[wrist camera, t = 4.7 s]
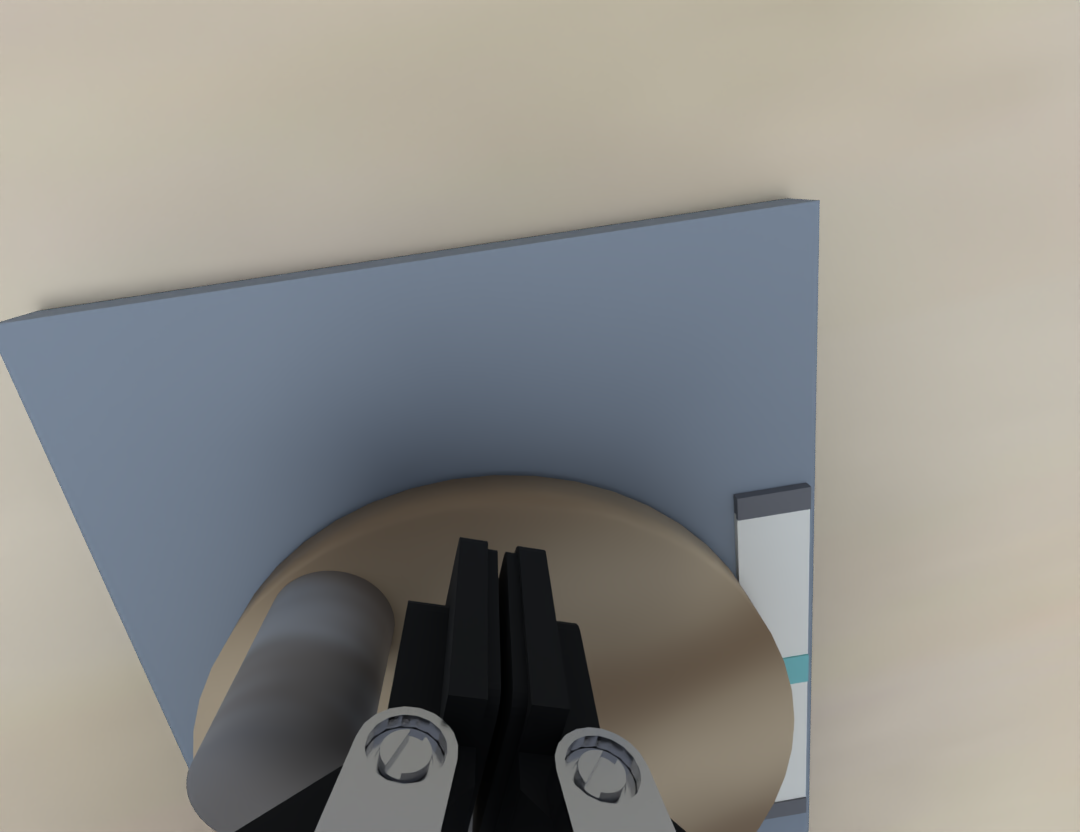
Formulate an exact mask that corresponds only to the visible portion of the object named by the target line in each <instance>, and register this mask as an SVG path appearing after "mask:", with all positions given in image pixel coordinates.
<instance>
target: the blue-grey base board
mask: <svg viewBox="0 0 1080 832" xmlns="http://www.w3.org/2000/svg"><path fill="white" fill-rule="evenodd" d="M819 202H820V200H805V199H789V198H787V199H780V200H774V201H767V202H760V203H754V204H747V205H740V206H734V207H727V208H720V209H714V210H707V211H700V212H694V213H687V214H681V215H674V216H667V217H661V218H654V219H647V220H641V221H634V222H627V223H621V224H614V225H607V226H601V227H594V228H587V229H581V230H574V231H567V232H561V233H554V234H547V235H541V236H534V237H527V238H521V239H514V240H507V241H501V242H494V243H487V244H481V245H474V246H467V247H461V248H454V249H447V250H441V251H434V252H427V253H421V254H414V255H408V256H401V257H394V258H388V259H381V260H374V261H368V262H361V263H354V264H348V265H341V266H334V267H328V268H321V269H314V270H308V271H301V272H294V273H288V274H281V275H274V276H268V277H261V278H254V279H248V280H241V281H234V282H228V283H221V284H214V285H208V286H201V287H194V288H188V289H181V290H174V291H168V292H161V293H154V294H148V295H141V296H134V297H128V298H121V299H115V300H108V301H101V302H95V303H88V304H81V305H75V306H68V307H61V308H55V309H48V310H41V311H36V312H32V313H29V314H26V315H22V316H19V317H15V318H12V319H8V320H5V321H1V322H0V354H1V356H2V359H3V361H4V363H5V365H6V367H7V370H8V372H9V374H10V376H11V378H12V381H13V383H14V385H15V387H16V389H17V392H18V394H19V396H20V398H21V400H22V403H23V405H24V407H25V409H26V411H27V414H28V416H29V418H30V420H31V422H32V425H33V427H34V429H35V431H36V433H37V436H38V438H39V440H40V442H41V444H42V447H43V449H44V451H45V453H46V455H47V458H48V460H49V462H50V464H51V466H52V469H53V471H54V473H55V475H56V477H57V480H58V482H59V484H60V486H61V488H62V491H63V493H64V495H65V497H66V499H67V502H68V504H69V506H70V508H71V510H72V513H73V515H74V517H75V519H76V521H77V524H78V526H79V528H80V530H81V532H82V535H83V537H84V539H85V541H86V543H87V546H88V548H89V550H90V552H91V554H92V557H93V559H94V561H95V563H96V565H97V568H98V570H99V572H100V574H101V576H102V579H103V581H104V583H105V585H106V587H107V590H108V592H109V594H110V596H111V598H112V601H113V603H114V605H115V607H116V609H117V612H118V614H119V616H120V618H121V620H122V623H123V625H124V627H125V629H126V631H127V634H128V636H129V638H130V640H131V642H132V645H133V647H134V649H135V651H136V653H137V656H138V658H139V660H140V662H141V664H142V667H143V669H144V671H145V673H146V675H147V678H148V680H149V682H150V684H151V686H152V689H153V691H154V693H155V695H156V697H157V700H158V702H159V704H160V706H161V708H162V711H163V713H164V715H165V717H166V719H167V722H168V724H169V726H170V728H171V730H172V733H173V735H174V737H175V739H176V741H177V744H178V746H179V748H180V750H181V752H182V755H183V757H184V759H185V761H186V763H187V766H188V768H190V765H191V763H192V761H193V731H194V726H195V720H196V715H197V710H198V705H199V700H200V697H201V694H202V692H203V689H204V687H205V684H206V681H207V679H208V676H209V673H210V671H211V668H212V666H213V665H214V663H215V661H216V659H217V658H218V656H219V654H220V652H221V651H222V649H223V647H224V645H225V643H226V642H227V640H228V638H229V636H230V635H231V633H232V631H233V629H234V628H235V626H236V624H237V622H238V621H239V619H240V617H241V616H242V614H243V612H244V610H245V609H246V607H247V605H248V604H249V602H250V600H251V599H252V597H253V595H254V594H255V593H256V591H257V590H258V589H259V588H260V586H261V585H262V584H263V583H264V582H265V580H266V579H267V578H268V577H269V576H270V574H271V573H272V572H273V571H274V569H275V568H276V567H277V566H278V565H279V564H280V563H282V562H283V561H284V560H285V559H286V558H287V557H288V556H289V555H290V554H291V553H293V552H294V551H295V550H296V549H297V548H298V547H299V546H300V545H301V544H303V543H304V542H305V541H307V540H308V539H309V538H311V537H312V536H314V535H315V534H317V533H318V532H320V531H321V530H323V529H324V528H326V527H327V526H329V525H330V524H332V523H333V522H334V521H336V520H338V519H340V518H342V517H344V516H346V515H348V514H350V513H352V512H354V511H356V510H358V509H360V508H362V507H364V506H366V505H368V504H370V503H372V502H374V501H377V500H380V499H383V498H386V497H388V496H391V495H394V494H397V493H400V492H402V491H405V490H408V489H411V488H416V487H420V486H424V485H429V484H433V483H438V482H442V481H447V480H451V479H461V478H470V477H480V476H490V475H516V476H540V477H547V478H555V479H562V480H569V481H576V482H580V483H583V484H587V485H591V486H595V487H599V488H602V489H606V490H610V491H614V492H616V493H618V494H621V495H623V496H626V497H628V498H631V499H633V500H636V501H638V502H641V503H643V504H646V505H648V506H650V507H652V508H653V509H655V510H657V511H659V512H660V513H662V514H664V515H666V516H667V517H669V518H671V519H672V520H674V521H676V522H678V523H679V524H681V525H682V526H683V527H685V528H686V529H687V530H688V531H690V532H691V533H692V534H694V535H695V536H696V537H697V538H699V539H700V540H701V541H703V542H704V543H705V544H706V545H707V546H708V547H709V548H710V549H711V550H712V551H713V552H714V553H715V554H716V555H717V556H718V557H719V558H720V559H721V560H722V561H723V562H724V564H725V565H726V566H727V567H728V568H729V569H730V570H731V572H732V573H733V575H734V576H735V578H736V579H737V581H738V582H739V584H740V585H741V587H742V588H743V589H744V591H745V592H746V594H747V595H748V597H749V599H750V600H751V602H752V603H753V605H754V607H755V608H756V610H757V611H758V613H759V615H760V616H761V618H762V619H763V621H764V623H765V624H766V626H767V627H768V629H769V631H770V632H771V634H772V636H773V638H774V641H775V643H776V645H777V647H778V649H779V651H780V653H781V656H782V658H783V660H784V663H785V666H786V670H787V674H788V678H789V681H790V685H791V689H792V697H793V708H794V732H793V744H792V751H791V755H790V759H789V763H788V767H787V771H786V775H785V778H784V780H783V783H782V785H781V788H780V790H779V792H778V795H777V797H776V800H775V802H774V804H773V806H772V807H771V809H770V811H769V812H768V814H767V816H766V817H765V819H764V821H763V823H762V824H761V826H760V828H759V829H758V830H757V832H808V829H809V772H810V715H811V658H812V601H813V544H814V487H815V430H816V373H817V316H818V258H819Z"/></svg>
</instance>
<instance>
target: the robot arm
mask: <svg viewBox="0 0 1080 832" xmlns="http://www.w3.org/2000/svg"><path fill="white" fill-rule="evenodd" d="M472 814H473V821H472V832H686V831H685V830H684V829H683V828H681V827H680V826H679V825H678V824H677V823H676V822H674V821H673V820H672V819H671V818H670V816H669V814H668V812H667V809H666V807H665V805H664V802H663V800H662V798H661V795H660V793H659V791H658V788H657V786H656V784H655V781H654V779H653V777H652V774H651V772H650V770H649V767H648V765H647V764H646V762H645V760H644V759H643V757H642V755H641V754H640V752H639V751H638V750H637V749H636V748H635V747H634V746H633V745H632V744H631V743H630V742H628V741H627V740H625V739H624V738H622V737H621V736H619V735H617V734H615V733H613V732H610V731H607V730H605V729H600V726H599V721H598V716H597V711H596V706H595V701H594V696H593V691H592V686H591V681H590V676H589V671H588V666H587V661H586V656H585V651H584V647H583V642H582V637H581V632H580V628H579V626H578V625H577V624H576V623H570V622H563V621H556V614H555V608H554V601H553V595H552V588H551V582H550V575H549V569H548V562H547V556H546V551H545V550H541V549H535V548H528V547H522V546H517V547H516V550H515V553H511V552H505V554H504V557H503V561H502V565H501V570H500V574H499V578H498V551H497V550H492V549H488V541H483V540H476V539H470V538H463V537H460V538H459V542H458V546H457V551H456V556H455V560H454V565H453V570H452V575H451V580H450V585H449V589H448V594H447V599H446V604H445V605H439V604H432V603H424V602H417V601H410V600H408V604H407V609H406V615H405V620H404V625H403V630H402V636H401V641H400V646H399V651H398V657H397V662H396V667H395V673H394V678H393V683H392V688H391V694H390V699H389V704H388V709H387V710H385V711H382V712H380V713H377V714H375V715H374V716H373V717H371V718H370V719H369V720H368V721H366V722H365V723H364V724H363V726H362V727H361V729H360V730H359V732H358V733H357V735H356V737H355V739H354V741H353V744H352V746H351V748H350V751H349V753H348V755H347V758H346V760H345V762H344V764H343V765H342V766H340V767H339V768H337V769H335V770H334V771H332V772H330V773H329V774H327V775H326V776H324V777H322V778H321V779H319V780H318V781H316V782H314V783H313V784H311V785H309V786H308V787H306V788H305V789H303V790H301V791H300V792H298V793H296V794H295V795H293V796H292V797H290V798H288V799H287V800H285V801H284V802H282V803H280V804H279V805H277V806H275V807H274V808H272V809H271V810H269V811H267V812H266V813H264V814H262V815H261V816H259V817H258V818H256V819H254V820H253V821H251V822H250V823H248V824H246V825H245V826H243V827H241V828H240V829H238V830H237V831H235V832H468V829H469V825H470V821H471V817H472Z"/></svg>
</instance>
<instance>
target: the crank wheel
mask: <svg viewBox="0 0 1080 832" xmlns="http://www.w3.org/2000/svg"><path fill="white" fill-rule="evenodd" d="M460 537H463V538H470V539H476V540H483V541H488V549H492V550H497V551H498V578H499V574H500V570H501V565H502V561H503V557H504V554H505V552H511V553H515V550H516V547H517V546H522V547H528V548H535V549H541V550H545V551H546V556H547V562H548V569H549V575H550V582H551V588H552V595H553V601H554V608H555V614H556V621H563V622H570V623H576V624H577V625H578V626H579V628H580V632H581V637H582V642H583V647H584V651H585V656H586V661H587V666H588V671H589V676H590V681H591V686H592V691H593V696H594V701H595V706H596V711H597V716H598V721H599V726H600V729H605V730H607V731H610V732H613V733H615V734H617V735H619V736H621V737H622V738H624V739H625V740H627V741H628V742H630V743H631V744H632V745H633V746H634V747H635V748H636V749H637V750H638V751H639V752H640V754H641V755H642V757H643V759H644V760H645V762H646V764H647V765H648V767H649V770H650V772H651V774H652V777H653V779H654V781H655V784H656V786H657V788H658V791H659V793H660V795H661V798H662V800H663V802H664V805H665V807H666V809H667V812H668V814H669V816H670V818H671V819H672V820H673V821H674V822H676V823H677V824H678V825H679V826H680V827H681V828H683V829H684V830H685V831H686V832H757V830H758V829H759V828H760V826H761V824H762V823H763V821H764V819H765V817H766V816H767V814H768V812H769V811H770V809H771V807H772V806H773V804H774V802H775V800H776V797H777V795H778V792H779V790H780V788H781V785H782V783H783V780H784V778H785V775H786V771H787V767H788V763H789V759H790V755H791V751H792V744H793V732H794V708H793V697H792V689H791V685H790V681H789V678H788V674H787V670H786V666H785V663H784V660H783V658H782V656H781V653H780V651H779V649H778V647H777V645H776V643H775V641H774V638H773V636H772V634H771V632H770V631H769V629H768V627H767V626H766V624H765V623H764V621H763V619H762V618H761V616H760V615H759V613H758V611H757V610H756V608H755V607H754V605H753V603H752V602H751V600H750V599H749V597H748V595H747V594H746V592H745V591H744V589H743V588H742V587H741V585H740V584H739V582H738V581H737V579H736V578H735V576H734V575H733V573H732V572H731V570H730V569H729V568H728V567H727V566H726V565H725V564H724V562H723V561H722V560H721V559H720V558H719V557H718V556H717V555H716V554H715V553H714V552H713V551H712V550H711V549H710V548H709V547H708V546H707V545H706V544H705V543H704V542H703V541H701V540H700V539H699V538H697V537H696V536H695V535H694V534H692V533H691V532H690V531H688V530H687V529H686V528H685V527H683V526H682V525H681V524H679V523H678V522H676V521H674V520H672V519H671V518H669V517H667V516H666V515H664V514H662V513H660V512H659V511H657V510H655V509H653V508H652V507H650V506H648V505H646V504H643V503H641V502H638V501H636V500H633V499H631V498H628V497H626V496H623V495H621V494H618V493H616V492H614V491H610V490H606V489H602V488H599V487H595V486H591V485H587V484H583V483H580V482H576V481H569V480H562V479H555V478H547V477H540V476H516V475H490V476H480V477H470V478H461V479H451V480H447V481H442V482H438V483H433V484H429V485H424V486H420V487H416V488H411V489H408V490H405V491H402V492H400V493H397V494H394V495H391V496H388V497H386V498H383V499H380V500H377V501H374V502H372V503H370V504H368V505H366V506H364V507H362V508H360V509H358V510H356V511H354V512H352V513H350V514H348V515H346V516H344V517H342V518H340V519H338V520H336V521H334V522H333V523H332V524H330V525H329V526H327V527H326V528H324V529H323V530H321V531H320V532H318V533H317V534H315V535H314V536H312V537H311V538H309V539H308V540H307V541H305V542H304V543H303V544H301V545H300V546H299V547H298V548H297V549H296V550H295V551H294V552H293V553H291V554H290V555H289V556H288V557H287V558H286V559H285V560H284V561H283V562H282V563H280V564H279V565H278V566H277V567H276V568H275V569H274V571H273V572H272V573H271V574H270V576H269V577H268V578H267V579H266V580H265V582H264V583H263V584H262V585H261V586H260V588H259V589H258V590H257V591H256V593H255V594H254V595H253V597H252V599H251V600H250V602H249V604H248V605H247V607H246V609H245V610H244V612H243V614H242V616H241V617H240V619H239V621H238V622H237V624H236V626H235V628H234V629H233V631H232V633H231V635H230V636H229V638H228V640H227V642H226V643H225V645H224V647H223V649H222V651H221V652H220V654H219V656H218V658H217V659H216V661H215V663H214V665H213V666H212V668H211V671H210V673H209V676H208V679H207V681H206V684H205V687H204V689H203V692H202V694H201V697H200V700H199V705H198V710H197V715H196V720H195V726H194V731H193V761H192V763H191V765H190V768H189V771H188V775H187V793H188V797H189V800H190V803H191V805H192V806H193V808H194V810H195V812H196V813H197V814H198V815H199V817H200V818H201V819H202V820H203V821H204V822H205V823H206V824H207V825H208V826H210V827H211V828H212V829H214V831H215V832H235V831H237V830H238V829H240V828H241V827H243V826H245V825H246V824H248V823H250V822H251V821H253V820H254V819H256V818H258V817H259V816H261V815H262V814H264V813H266V812H267V811H269V810H271V809H272V808H274V807H275V806H277V805H279V804H280V803H282V802H284V801H285V800H287V799H288V798H290V797H292V796H293V795H295V794H296V793H298V792H300V791H301V790H303V789H305V788H306V787H308V786H309V785H311V784H313V783H314V782H316V781H318V780H319V779H321V778H322V777H324V776H326V775H327V774H329V773H330V772H332V771H334V770H335V769H337V768H339V767H340V766H342V765H343V764H344V762H345V760H346V758H347V755H348V753H349V751H350V748H351V746H352V744H353V741H354V739H355V737H356V735H357V733H358V732H359V730H360V729H361V727H362V726H363V724H364V723H365V722H366V721H368V720H369V719H370V718H371V717H373V716H374V715H375V714H377V713H380V712H382V711H385V710H387V709H388V704H389V699H390V694H391V688H392V683H393V678H394V673H395V667H396V662H397V657H398V651H399V646H400V641H401V636H402V630H403V625H404V620H405V615H406V609H407V604H408V600H410V601H417V602H424V603H432V604H439V605H445V604H446V599H447V594H448V589H449V585H450V580H451V575H452V570H453V565H454V560H455V556H456V551H457V546H458V542H459V538H460ZM472 821H473V814H472V817H471V821H470V825H469V829H468V832H472Z"/></svg>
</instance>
